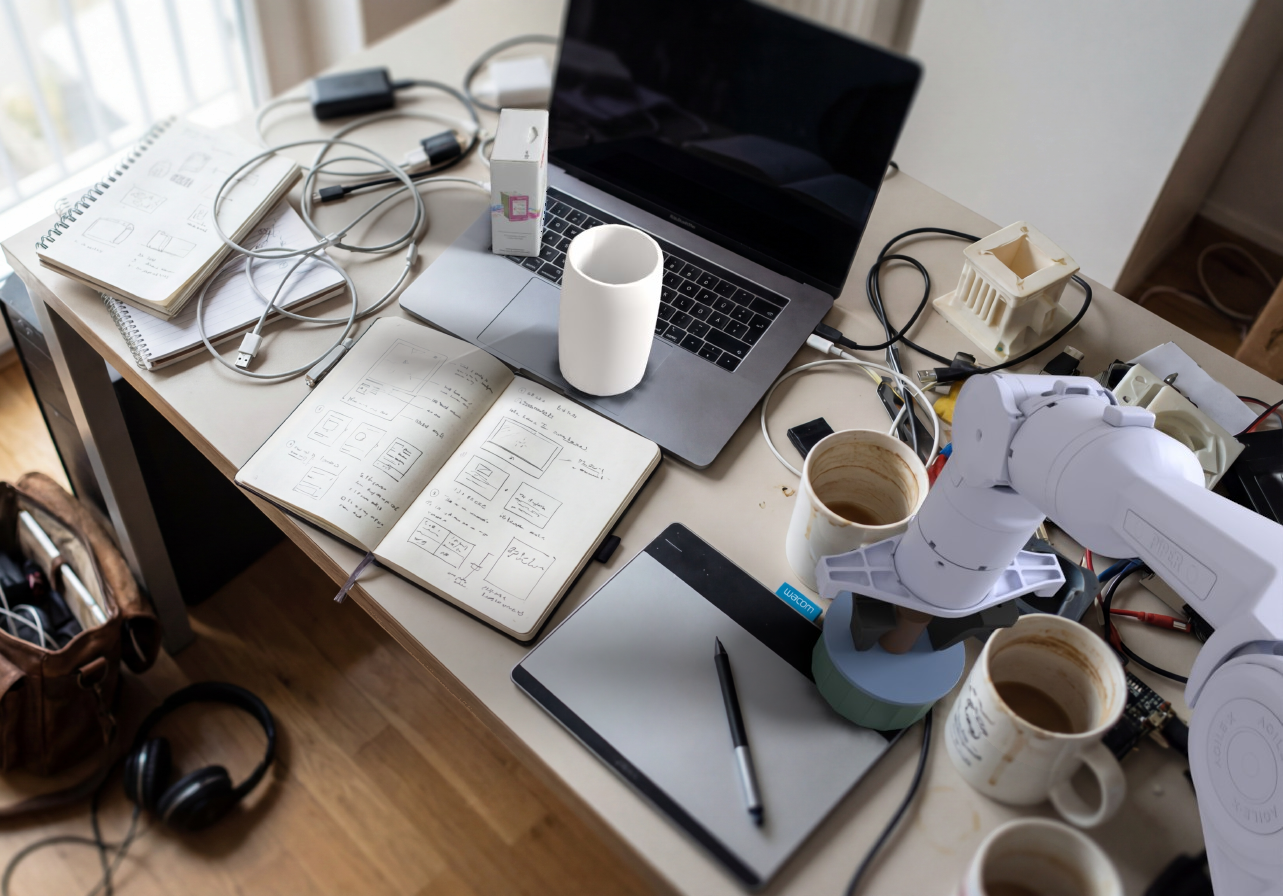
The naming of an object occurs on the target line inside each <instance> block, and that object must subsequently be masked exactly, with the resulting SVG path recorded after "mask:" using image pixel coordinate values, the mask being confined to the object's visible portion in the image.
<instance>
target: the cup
mask: <svg viewBox="0 0 1283 896" xmlns="http://www.w3.org/2000/svg"><path fill="white" fill-rule="evenodd" d="M564 261H565V262H564V267H563V272H562V278H561V285H560V294H559V308H558V309H559V310H558V362H559V370H560V372H561V375H562V377H563V378H564V379H565V380H566V381H567V382H568V384H569V385H571V386H572V387H574V388H575V389H577V390H579V391H582V392H584V393H587V394H589V395H593V396H598V397H608V396H609V397H610V396H615V395H619V394H620V395H621V394H624V393H625V392H627V391H630V390H631V389H633V388H634V387H636V386H637V385H638V384H639V383H641V381H642V378H643V377H644V375H645V371H646V368H647V364H648V361H649V356H650V352H651V349H652V345H653V339H654V336H655V330H656V325H657V319H658V315H659V309H660V303H661V297H662V286H663V275H664V274H663V273H664V256H663V251H662V248H661V246H660V245H659V243H658V242H657V241H656V240H655V239H654V238H652V237H651V236H650V235H649V234H647V233H645V232H644V231H643V230H640V229H638V228H636V227H632V226H628V225H623V224H617V223H613V224H612V223H611V224H602V225H597V226H592V227H590V228H588V229H586V230H583V231H582V232H580V233H578V234H577V235H576V236H574V238H572V240H571V241H570V243H569V245H568V247H567V251H566V256H565V260H564Z"/></svg>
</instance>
